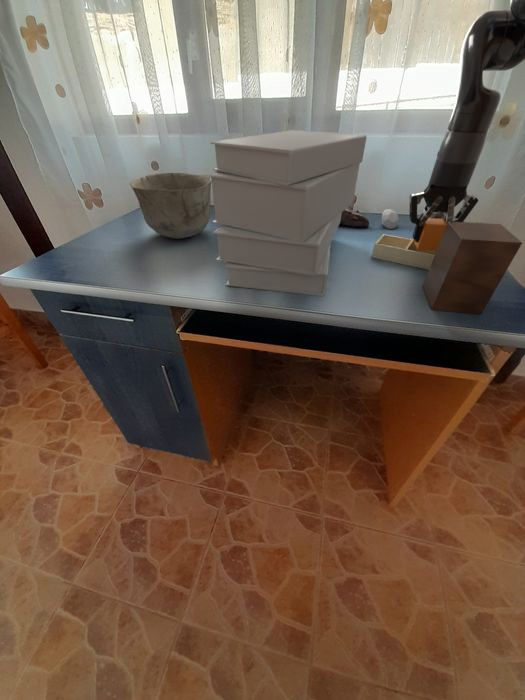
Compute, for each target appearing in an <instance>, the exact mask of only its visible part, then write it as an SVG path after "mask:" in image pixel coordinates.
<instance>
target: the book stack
mask: <svg viewBox="0 0 525 700" xmlns="http://www.w3.org/2000/svg"><path fill="white" fill-rule="evenodd" d="M366 143H367V135H366V134H359V133H343V132H329V131H313V130H302V129H301V130H300V129H299V130H298V129H288V130H281V131H275V132H268V133H260V134H254V135H246V136H240V137H231V138H225V139H217V140H213V141H210V143H209V144H210V145H214V151H215V160H216V167H215V168H212V170H213V171H214V172H210V173H207V174H206V175H207V177H210V178H211V181H212V182H211V189H212V198H213V207H214V214H215V215H214V217H215V219H214V220H212V221H211V222H212V224H216V225H221V226H219V227H218V228H217V229H216V230H214V231H213V232H212V235H216V237H217V246H218V256H217V258H216V259H215V261H218V262H225V263H224V265H223V268H227V275H228V276H227V277H228V279H227V281H226V283H225V284H224V285H225V286H227V287H236V288H246V289H253V290H254V289H255V290H265V291H272V292H283V293H290V294H291V293H292V294H299V295H300V294H302V295H309V296H311V295H312V296H317V297H318V296H320V297H324V296H326V290H327V282H328V276H329V275H328V274H329V267H330V256H331V255H330V254H331V246H332V240H333V238H334V236H335V234H336V232H337V230H338V228H339V226H340V224H339V223H340V220H341V214H342V211H344V210H345V209H346V208H347V207H348V208H350V206H351V205H353V203H354V198H355V193H356V186H357V182H358V176H359V170H360V165H361V163H362V162H363V160H364V154H365V148H366Z"/></svg>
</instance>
